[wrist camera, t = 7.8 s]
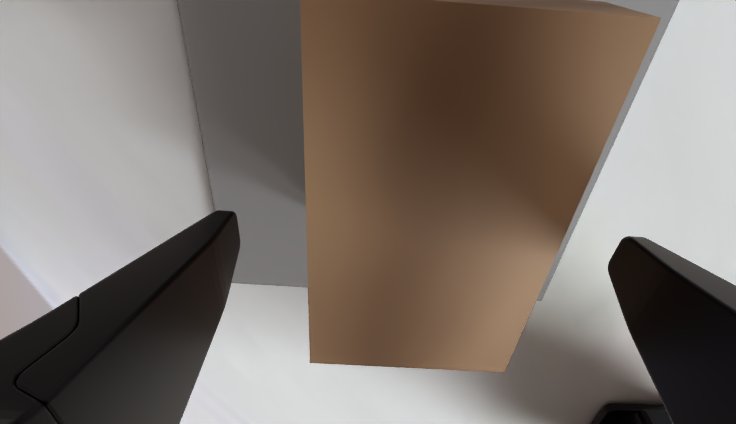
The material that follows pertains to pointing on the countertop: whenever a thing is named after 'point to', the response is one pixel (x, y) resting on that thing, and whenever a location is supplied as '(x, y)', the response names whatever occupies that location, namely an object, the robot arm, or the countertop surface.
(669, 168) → the countertop surface
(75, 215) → the countertop surface
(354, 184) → the stool
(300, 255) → the mat
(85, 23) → the countertop surface
